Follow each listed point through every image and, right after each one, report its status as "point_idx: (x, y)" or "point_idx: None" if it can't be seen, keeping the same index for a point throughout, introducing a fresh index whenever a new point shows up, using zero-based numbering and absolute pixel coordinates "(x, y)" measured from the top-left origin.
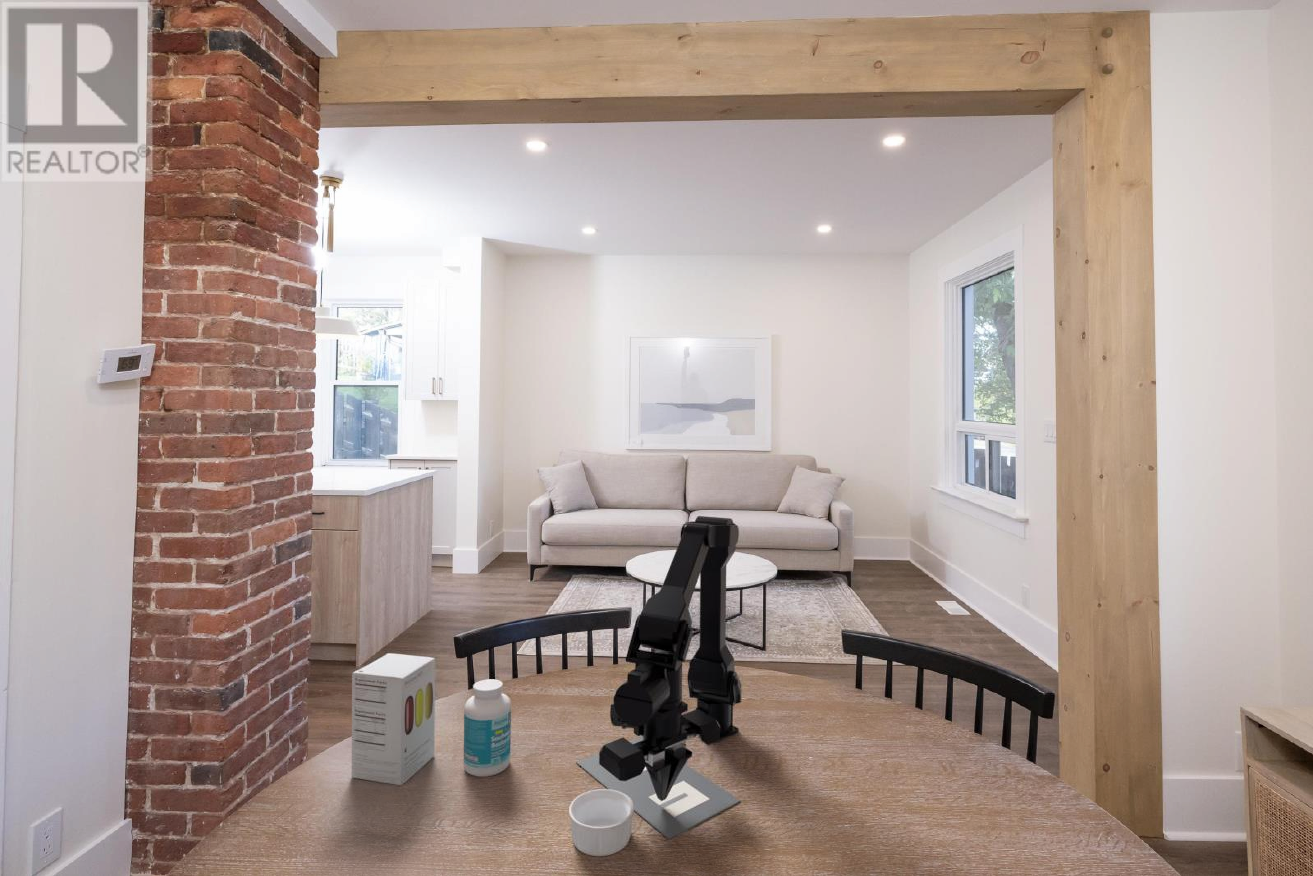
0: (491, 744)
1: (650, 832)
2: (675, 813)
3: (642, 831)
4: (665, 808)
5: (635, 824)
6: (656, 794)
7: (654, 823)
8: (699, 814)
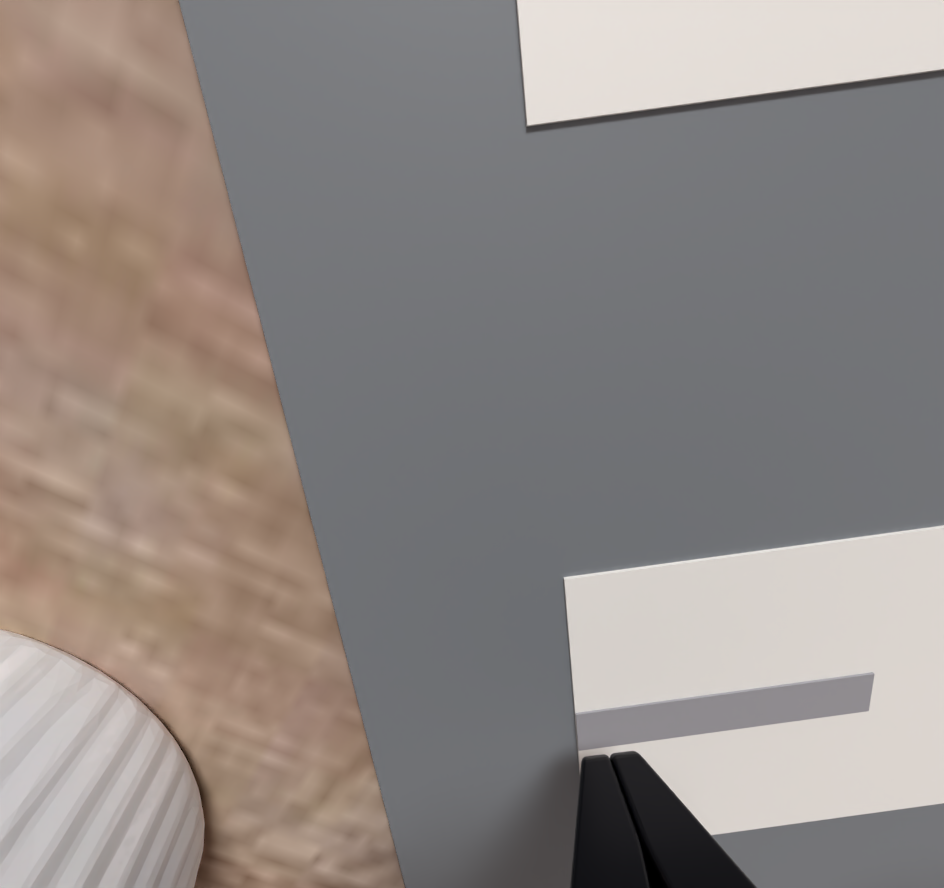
0: None
1: (354, 874)
2: None
3: (306, 850)
4: None
5: (290, 780)
6: (578, 794)
7: (417, 849)
8: (756, 884)
